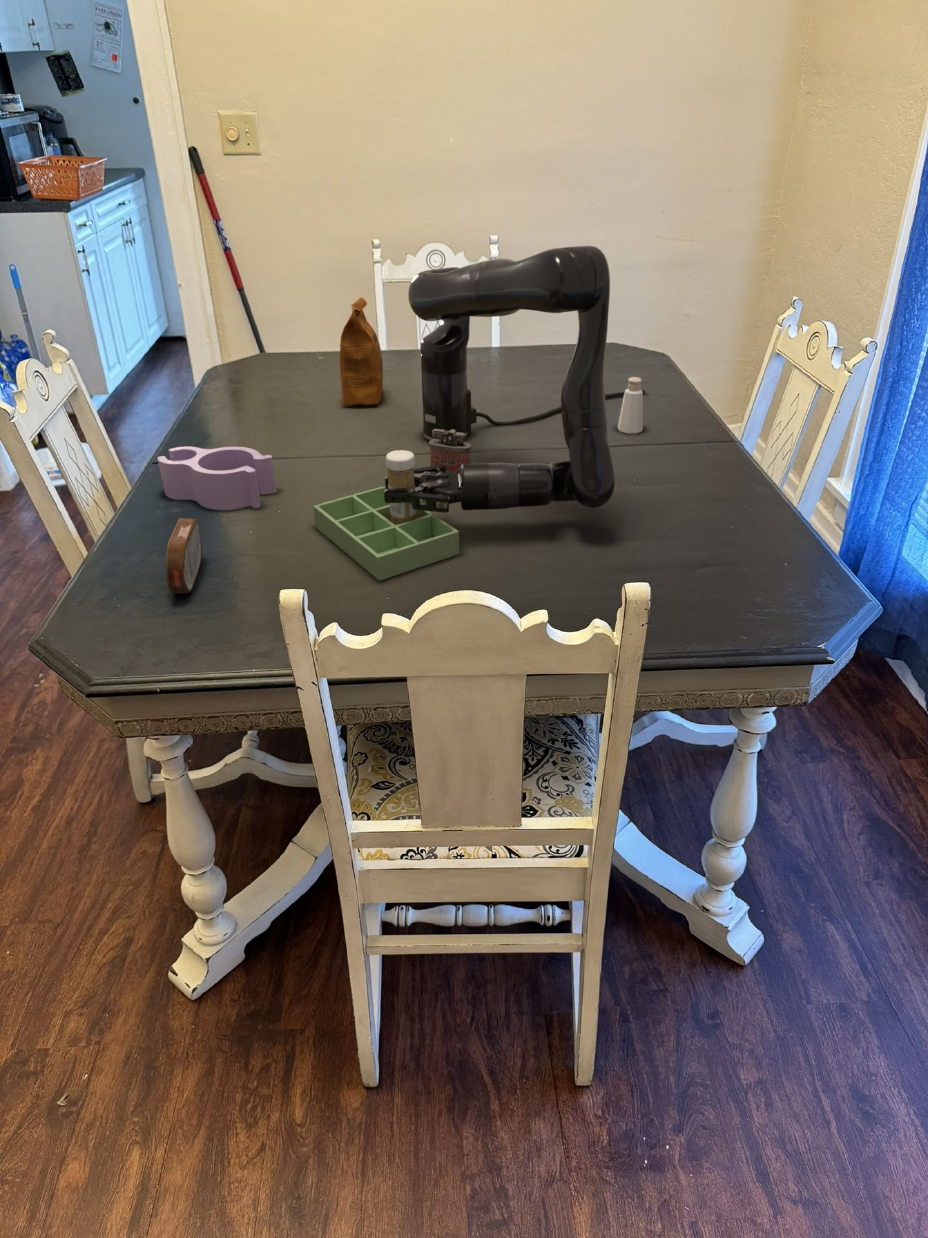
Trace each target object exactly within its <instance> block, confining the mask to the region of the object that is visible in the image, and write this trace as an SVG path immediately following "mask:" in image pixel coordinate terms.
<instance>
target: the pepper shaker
mask: <svg viewBox="0 0 928 1238" xmlns="http://www.w3.org/2000/svg"><path fill="white" fill-rule="evenodd" d="M642 381H643V379H642V378H640V377H639V376H631V377H629V378H628V379H627V382H628V383H627V388H626V389H625V390H624V392H625V393H624V396H622V397H623V398H622V403H621V409H620V413H619V418H618V423H617V429H618V431H619V432H620V433H623V434H627V435H636V434H637V435H638V434H639V433H641V432H643V430H644V429H643V428H644V427H643V426H644V425H643V424H644V422H643V421H644V418H643V417H644V414H643V413H644V412H643V411H644V407H643V406H644V394H643V392H642V390H643V389H641V387H642Z"/></svg>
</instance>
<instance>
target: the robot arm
mask: <svg viewBox="0 0 928 1238" xmlns="http://www.w3.org/2000/svg"><path fill="white" fill-rule="evenodd" d="M408 286H409V287H408V293H407V298H408V303H409V307H410V308H411V310H412V312H413V313H414V314H415V316H417V318H419V319H420V320H423V321H425V322H437V321H441V322H440V323H439V325H438V326H437V327H436V328H435V329H433V331H431V332H430V333H428V334H427V335H425V336H424V337H423V338H421V342H420V369H421V396H422V397H421V399H422V424H423V426H422V429H423V430H422V436H423V438H424V439H425V440H427V441H431V440H434V439H439V438H437V437H433V436H432V431H433V430H434V429H440V430H446V431H450V430H451V429H454V430H456V432H459V433H464V434H465V439H466V438H468V436H471V435H472V424H476V423H477V421H478V419H477V417H480V418H483V419H485V420H487V422H488V423H490V424H491V425H493V426H498V427H500V426H501V427H502V426H514V425H519V424H524V423H528V422H532V421H537V420H540V419H543V418H546V417H548V416H551V415H553V414H556V413H560V412H561V421H562V430H563V436H564V441H565V445H566V446H567V448H568V455H569V460H561V461H555V462H550V463H542V462H541V463H540V462H532V463H530V462H529V463H509V462H478V463H474V462H473V463H470V464H462V465H461V466H460V473H452V472H447V471H446V465H436V466H431V465H430V466H423V467H417V468H416V467H415V468H414V482H415V488H409V489H408V491H407V488H397V489H389V487H388V484H389V481H388V475H387V476H385V477H384V486H385V488H386V489H385V490H384V500H385V502H386V503H408V502H409V505H412V508H413V509H414V510H423V511H429V512H435V513H445V514H446V513H449V512H450V505H451V504H455V503H460V507H461V509H462V510H463V511H482V510H483V511H485V510H507V509H512V508H527V507H528V508H529V507H543V506H548V505H550V504H551V503H552V502H577V503H578V504H579V505H582V506H583V507H586V508H589V509H591V508H596V509H597V508H600V507H602V506H604V505H605V504H606V503H608V502H609V501H610V499H611V498H612V496H613V494H614V491H615V484H616V483H615V482H616V481H615V470H614V469H615V468H614V464H613V459H612V453H611V448H610V443H609V440H608V420H607V407H606V406H607V405H606V399H610V398H615V397H616V398H617V397H624V393H625V391H619V392H613V393H607V394H606V393H605V392H606V391H605V368H606V367H605V366H606V365H605V364H606V352H607V351H606V350H607V339H608V327H609V326H608V325H609V312H610V296H611V273H610V268H609V263H608V260H607V257H606V255H605V253H604V252H603V251H602V250H601V249H600V248H599V247H597V246H594V245H577V246H565V247H555V248H549V249H547V250H544V251H541V252H538V253H536V254H533V255H531V256H527V257H525V258H523V259H519V260H514V259H512V258H503V257H502V258H493V259H487V260H482V261H478V262H474V263H471V264H468V265H465V266H462V267H458V266H450V267H443V268H434V269H427V270H423V271H420V272H419V273H417V274H415V275H414V277H413V278H412V279H411V281H410V284H409V285H408ZM520 310H523V311H524V310H525V311H534V312H535V311H536V312H541V313H548V314H562V313H571V312H577V321H578V331H577V332H578V333H577V339H576V345H575V348H574V352H573V355H572V357H571V360H570V364H569V365H568V369H567V371H566V373H565V376H564V380H563V383H562V387H561V393H560V406H559V407H557V408H554V409H551V410H548V411H545V412H544V413H540V414H538V415H533V416H528V417H525V418H524V417H523V418H521V419H516V420H512V421H496V420H494V419H492V418H491V417H490V416H489V415H488V414H486V413H483V412H479V411H477V408H475V407H472V391H471V390H470V389H468V354H467V353H468V344H469V341H470V328H471V325H470V324H471V317H474V318H475V317H476V318H477V317H478V318H479V317H480V318H493V317H505V316H510V315H514V314H516V313H517V312H519V311H520ZM641 390H642V392H643V395H644V394H646V390H645V389H641ZM444 440H446V438H444Z"/></svg>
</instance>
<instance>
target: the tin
mask: <svg viewBox="0 0 928 1238" xmlns="http://www.w3.org/2000/svg"><path fill="white" fill-rule="evenodd" d="M200 527H201V524H200V521H199V520H198V519H196V518H183V517H179V518H178V520H177V522H176V524H175V526H174V529H173V531H172V534H171V536H170V538H169V539H168V543H167V548H166V555H165V574H166V582H167V586H168V589H169V592H170V593H171V594H172V595H175V594H189V593H191V592H192V590H193V588H194V585H195V582H196V580H197V577H198V575H199V571H200V569H201V566H202V565H201V564H202V558H203V543H202V538H201V531H200V529H201V528H200Z"/></svg>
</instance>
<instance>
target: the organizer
mask: <svg viewBox="0 0 928 1238" xmlns="http://www.w3.org/2000/svg"><path fill="white" fill-rule="evenodd" d="M385 489H386V488H385V485H382V486H379V487H376V488H373V489H369V490H365V491H362V492H358V493H355V494H351V495H347V496H344V497H340V498H336V499H333V500H332V499H331V500H329V501H325V502H321V503H319V504H315V505H313V506H312V507H313V516H314V523H315V524H314V525H315V528H316V529H317V530H318V531H319V532H320V533H322V535H324V536H325V537H326V538H327V539H329V540H330V541H331V542H332V543H334V545H336V546H337V547H338V548H339V549H341V550H342V551H343V552H344V553H346V554H347V556H349V557H350V558H352V559H353V560H354V561H355V562H356V563H357V564H359V566H361V568H363V569H364V570H366V571H367V572H368V573H370V574H371V575H372V576H373V578H375V579H376V580H377V581H383V580H386V579H388V578H391V577H395V576H398V575H402V574H404V573H407V572H409V571H413V570H416V569H418V568H422V567H425V566H428V565H430V564H433V563H437V562H439V561H442V560H446V559H449V558H451V557H454V556H458V555H459V554H460V531H459V530H457V529H456V528H454V527H453V526H451V524H449V523H447V522H445V521H444V520H443V519H441V518H440V517H438V516H437V515H435V514H434V513H432V511H423V510H417V511H416V516H417V517H416V518H417V519H415V520H411V521H408V522H405V523H401V524H398V525H395V524H393V523H392V522H391V513H390V503H386V502H385V500H384V490H385Z"/></svg>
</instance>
